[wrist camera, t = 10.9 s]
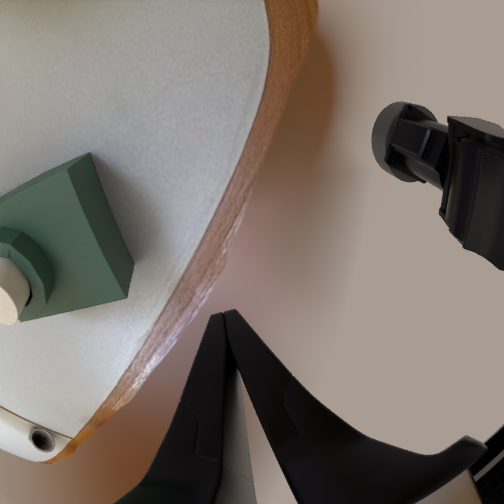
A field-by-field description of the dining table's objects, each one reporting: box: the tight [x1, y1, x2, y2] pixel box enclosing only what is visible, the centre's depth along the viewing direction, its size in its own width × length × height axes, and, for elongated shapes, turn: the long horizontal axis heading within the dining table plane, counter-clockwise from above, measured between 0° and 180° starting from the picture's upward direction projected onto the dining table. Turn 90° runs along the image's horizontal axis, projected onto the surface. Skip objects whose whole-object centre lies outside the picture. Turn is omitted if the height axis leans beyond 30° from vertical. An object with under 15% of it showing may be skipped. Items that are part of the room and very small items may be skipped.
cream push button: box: [0, 257, 30, 325], centre depth 13 cm, size 4×4×3 cm
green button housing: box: [0, 153, 134, 322], centre depth 16 cm, size 12×10×6 cm
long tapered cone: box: [29, 428, 55, 452], centre depth 40 cm, size 6×6×19 cm
